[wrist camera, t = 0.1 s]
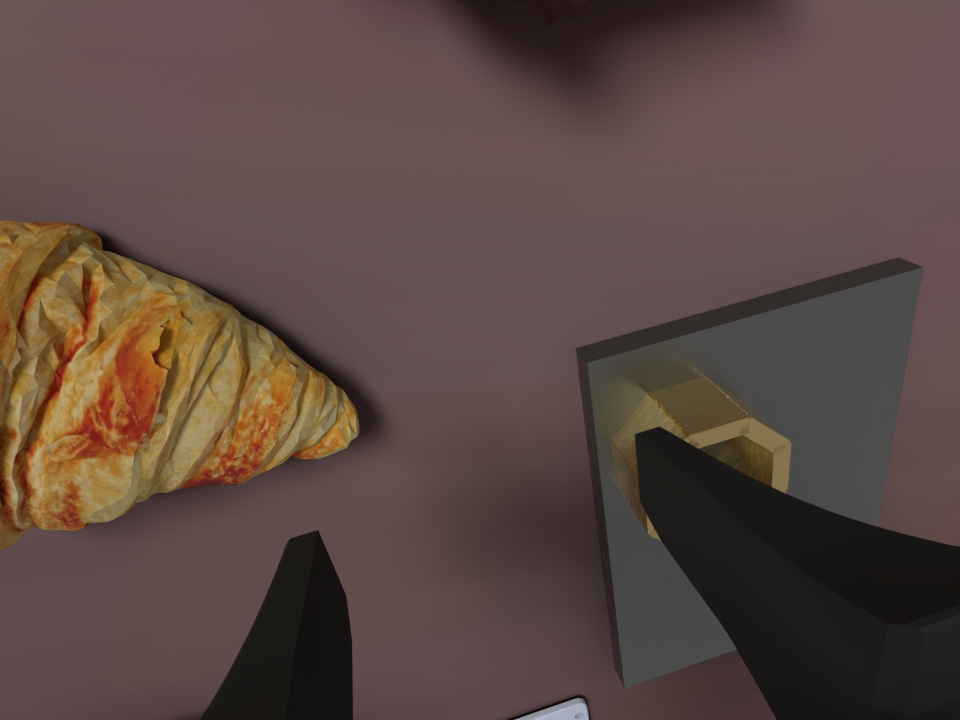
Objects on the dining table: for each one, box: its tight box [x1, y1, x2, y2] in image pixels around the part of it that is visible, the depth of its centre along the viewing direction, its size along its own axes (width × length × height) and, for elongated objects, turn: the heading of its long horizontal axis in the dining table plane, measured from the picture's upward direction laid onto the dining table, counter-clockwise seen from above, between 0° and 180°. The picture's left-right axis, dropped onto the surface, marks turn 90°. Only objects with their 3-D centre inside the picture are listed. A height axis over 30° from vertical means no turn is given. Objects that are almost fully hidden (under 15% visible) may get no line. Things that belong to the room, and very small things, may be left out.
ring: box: [611, 377, 791, 540], centre depth 25 cm, size 6×6×3 cm
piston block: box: [576, 258, 923, 688], centre depth 28 cm, size 20×14×5 cm
